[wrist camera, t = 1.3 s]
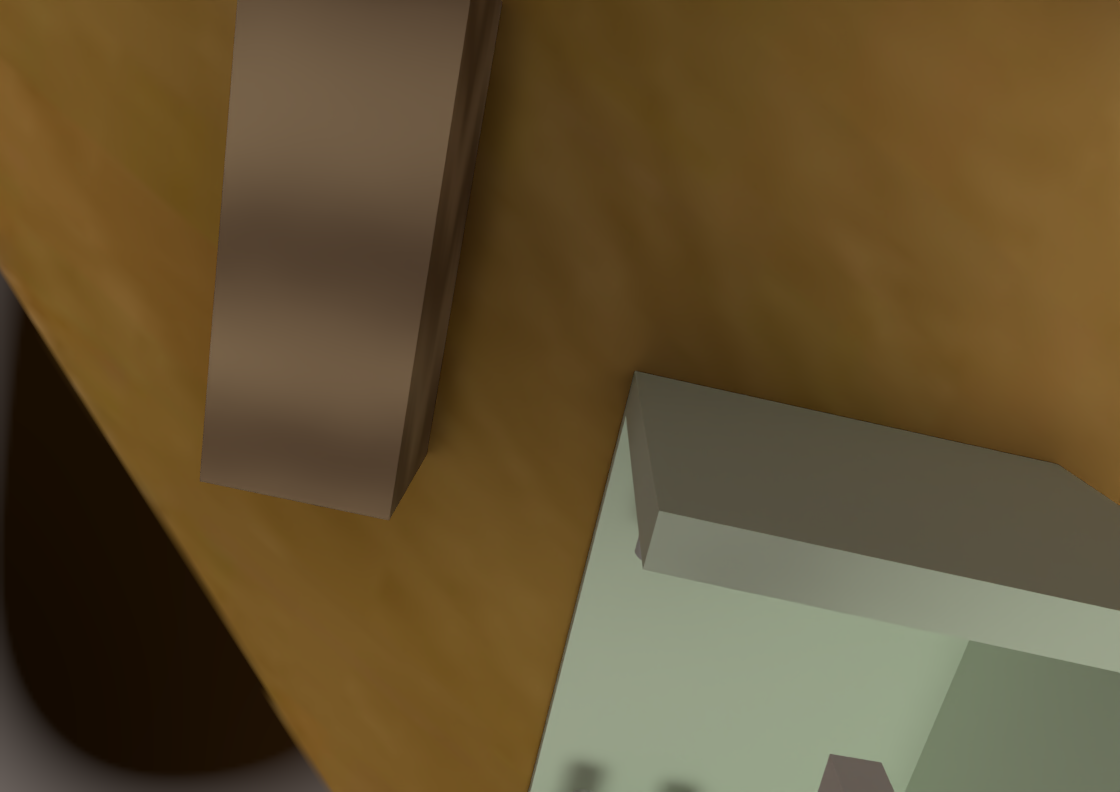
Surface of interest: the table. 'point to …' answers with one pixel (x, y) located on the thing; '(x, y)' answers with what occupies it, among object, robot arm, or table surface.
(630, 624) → the open storage box
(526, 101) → the table surface
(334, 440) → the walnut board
